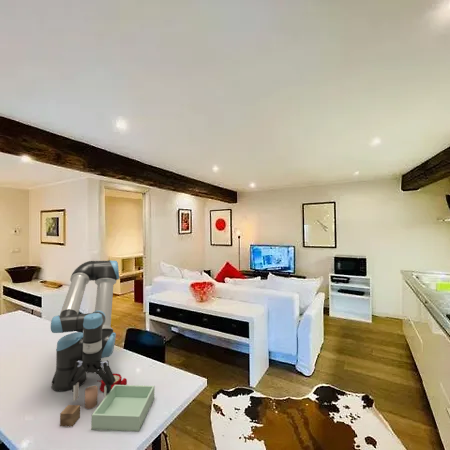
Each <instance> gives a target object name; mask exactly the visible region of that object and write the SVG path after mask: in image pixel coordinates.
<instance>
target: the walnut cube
mask: <svg viewBox="0 0 450 450" xmlns="http://www.w3.org/2000/svg"><path fill="white" fill-rule="evenodd" d="M80 418H81V405H78V404H68V405H67V406H65V408H64V409H63V410H62V411H61V412H60V414H59V427H68V426H69V427H70V426H72V428H73V427H74V426H75V424H76V423H77V422H78V421H79V419H80Z"/></svg>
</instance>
